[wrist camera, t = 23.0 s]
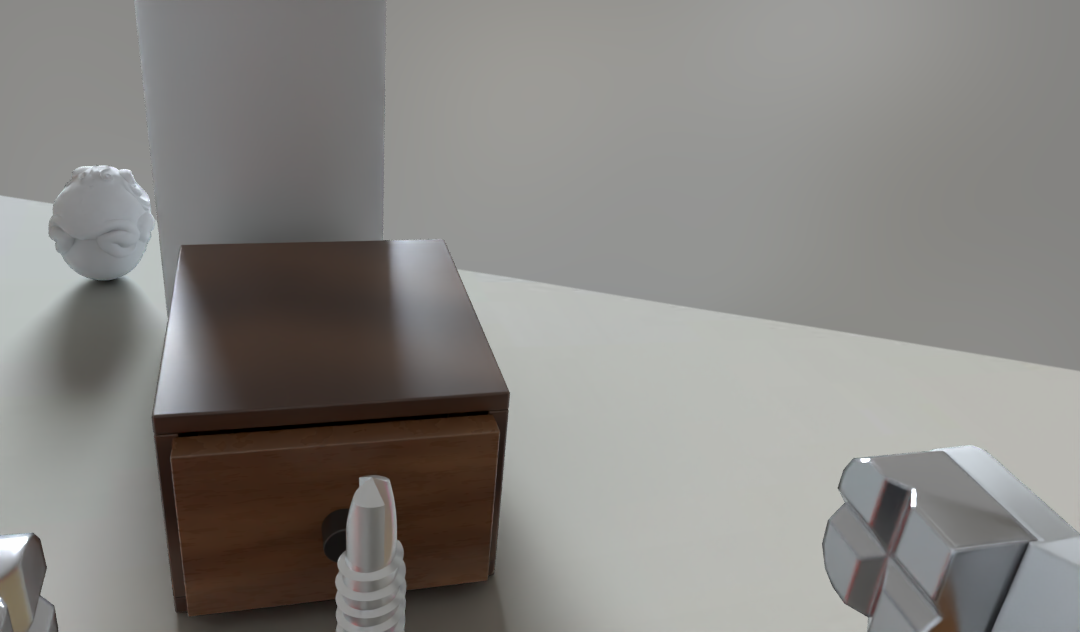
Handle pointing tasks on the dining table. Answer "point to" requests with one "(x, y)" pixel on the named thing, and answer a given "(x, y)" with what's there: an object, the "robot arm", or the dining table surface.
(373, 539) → the screw
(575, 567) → the dining table surface
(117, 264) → the frog figurine
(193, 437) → the drawer
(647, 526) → the dining table surface
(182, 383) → the cabinet
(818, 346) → the dining table surface
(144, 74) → the cylinder vase
